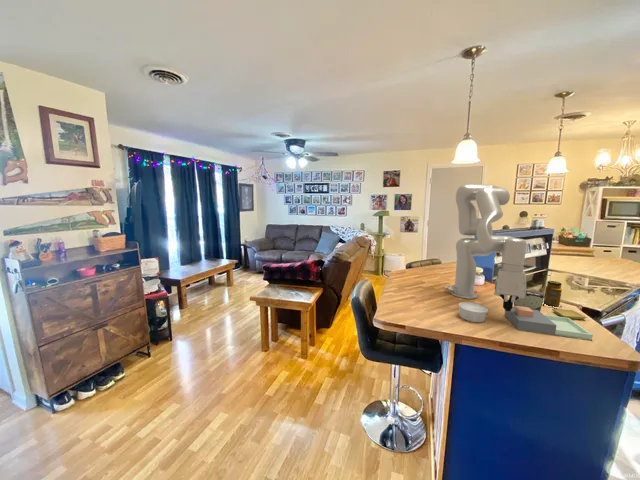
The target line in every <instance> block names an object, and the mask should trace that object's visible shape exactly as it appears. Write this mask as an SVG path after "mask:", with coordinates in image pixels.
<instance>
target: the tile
mask: <svg viewBox="0 0 640 480" xmlns="http://www.w3.org/2000/svg"><path fill="white" fill-rule="evenodd" d="M513 307H514V306H513ZM514 312H515V313H516V314H517V315H518V316H526V317H533V313H534V312H533V311H532V310H531V309H530V308H529V307H521V306H515V307H514Z"/></svg>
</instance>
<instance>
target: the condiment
mask: <svg viewBox="0 0 640 480" xmlns="http://www.w3.org/2000/svg"><path fill="white" fill-rule="evenodd" d="M562 290H563V289H562V283H561V282H559V281H556V280H555V281H554V280H548V281H547V283H546V286H545V290H544V296H545V299H543V302H544V304H546V305H548V306H554V307H559V305H561V298H562Z"/></svg>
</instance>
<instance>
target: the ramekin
mask: <svg viewBox="0 0 640 480" xmlns="http://www.w3.org/2000/svg"><path fill="white" fill-rule="evenodd" d="M458 310H459V316H460V318H461V319H464V320H465V321H468V322H471V323H483V322H485V320H486V318H487V314H488V312H489V309H488V308H487V307H486V306H485V305H482V304H479V303H476V302H468V301H465V302H464V301H463V302H459V303H458Z"/></svg>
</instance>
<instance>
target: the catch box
mask: <svg viewBox="0 0 640 480" xmlns="http://www.w3.org/2000/svg"><path fill="white" fill-rule="evenodd" d="M544 315H545V316H546V317H547V318H548V319H549V320H551V321H552V322H553V323H554V324H556V332H555V335H554V336H557V337H564V338H565V337H566V338H571V339H578V338H581V339H580V340H585V339H589V340H588V341H593V333H591V332H590V331H588V330H586V329H585V328H584V327H582V326H581V325H580V324H578V323H576V322H575V320H573V319H570V318H565V317H561V316H557V315H548V314H544Z"/></svg>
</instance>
